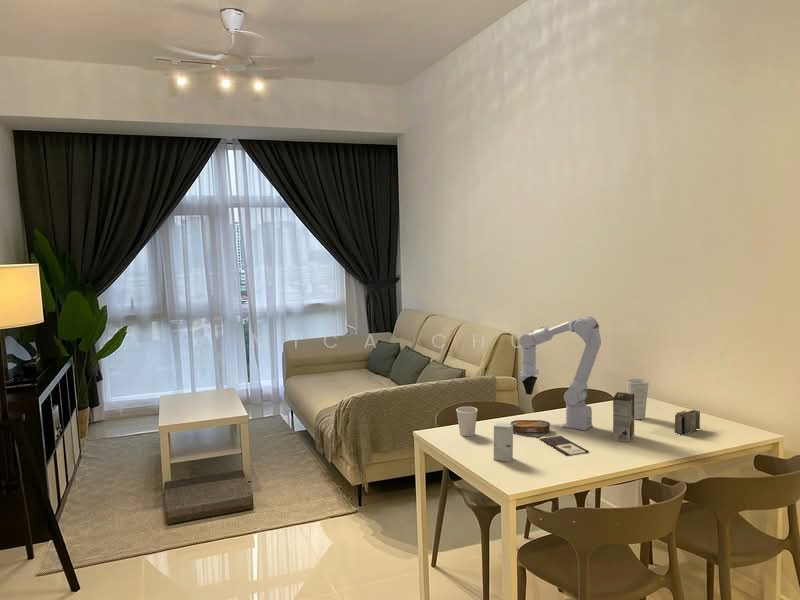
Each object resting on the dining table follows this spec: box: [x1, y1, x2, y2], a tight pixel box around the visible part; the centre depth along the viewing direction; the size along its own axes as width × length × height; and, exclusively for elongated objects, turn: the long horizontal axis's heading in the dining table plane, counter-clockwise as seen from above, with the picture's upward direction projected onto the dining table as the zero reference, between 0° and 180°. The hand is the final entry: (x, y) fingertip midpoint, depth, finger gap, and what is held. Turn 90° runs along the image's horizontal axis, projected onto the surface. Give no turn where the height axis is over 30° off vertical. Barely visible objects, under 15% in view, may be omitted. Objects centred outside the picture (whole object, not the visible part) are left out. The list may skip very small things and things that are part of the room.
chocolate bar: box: [539, 435, 590, 457], centre depth 217 cm, size 9×1×18 cm
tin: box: [510, 419, 551, 433], centre depth 234 cm, size 15×3×8 cm
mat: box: [513, 431, 547, 439], centre depth 235 cm, size 17×8×1 cm, turn 53°
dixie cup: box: [455, 406, 478, 437], centre depth 232 cm, size 8×8×10 cm
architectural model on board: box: [674, 409, 701, 435], centre depth 228 cm, size 11×3×10 cm, turn 120°
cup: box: [626, 378, 649, 420], centre depth 247 cm, size 8×8×16 cm
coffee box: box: [612, 391, 635, 443], centre depth 223 cm, size 9×6×16 cm
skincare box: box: [492, 421, 514, 463], centre depth 205 cm, size 6×4×12 cm
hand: (529, 394), depth 251 cm, fingers closed
